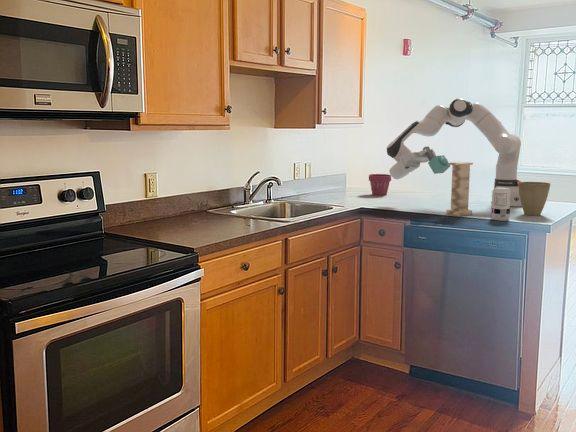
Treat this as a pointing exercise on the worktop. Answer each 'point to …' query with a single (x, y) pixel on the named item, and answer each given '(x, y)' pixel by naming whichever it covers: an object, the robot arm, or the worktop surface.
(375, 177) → the plant pot
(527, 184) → the plant pot
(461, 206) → the birch stand
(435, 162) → the teal cap handle
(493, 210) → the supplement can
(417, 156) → the robot arm
